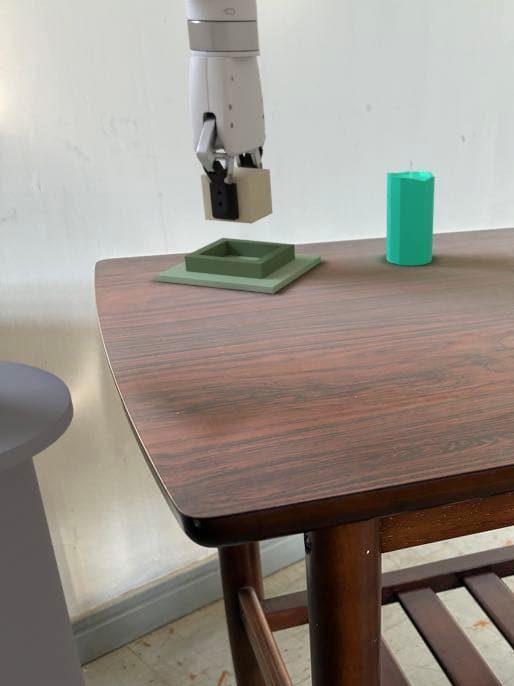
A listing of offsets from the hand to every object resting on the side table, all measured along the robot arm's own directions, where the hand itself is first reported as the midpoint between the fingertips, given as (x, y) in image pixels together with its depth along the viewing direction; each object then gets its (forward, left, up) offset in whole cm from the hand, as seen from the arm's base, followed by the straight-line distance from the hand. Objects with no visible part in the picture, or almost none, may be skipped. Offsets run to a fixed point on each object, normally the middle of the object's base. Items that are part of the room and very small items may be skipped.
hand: (238, 211), depth 104 cm
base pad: (0, 0, -7) cm, 7 cm away
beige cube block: (0, 0, -1) cm, 1 cm away
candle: (+20, -9, -7) cm, 23 cm away
